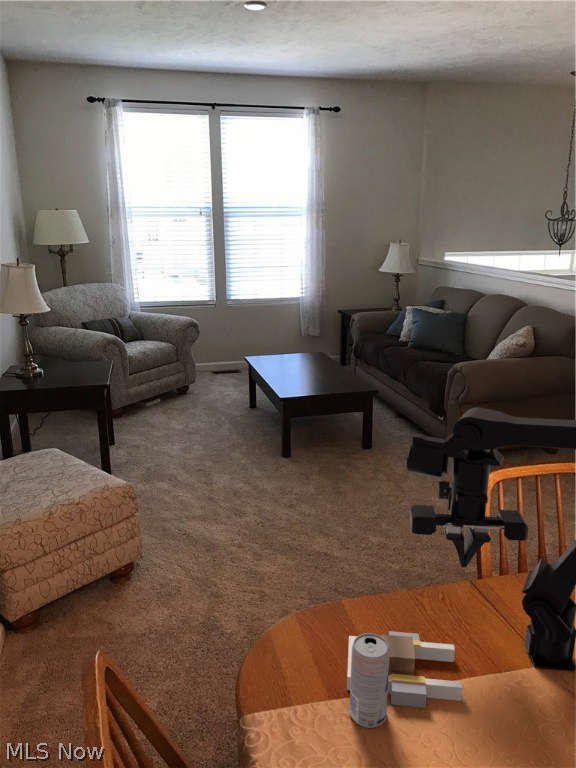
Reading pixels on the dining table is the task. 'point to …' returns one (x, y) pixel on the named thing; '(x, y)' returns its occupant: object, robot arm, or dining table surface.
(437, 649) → the white u-shaped frame
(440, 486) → the robot arm
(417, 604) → the dining table surface
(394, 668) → the block
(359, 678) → the energy drink
